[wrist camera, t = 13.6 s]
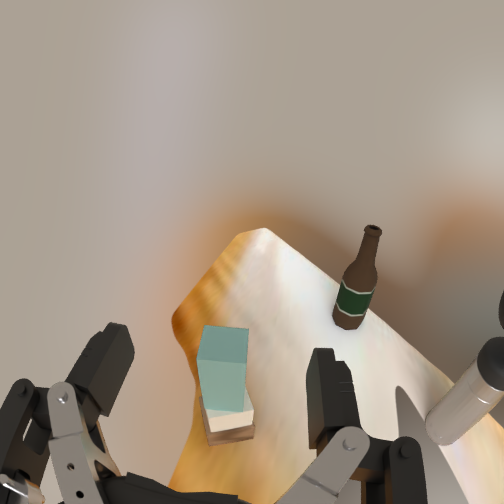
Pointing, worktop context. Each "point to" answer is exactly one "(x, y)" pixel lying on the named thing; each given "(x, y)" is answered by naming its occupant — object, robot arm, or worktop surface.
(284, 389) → the worktop surface
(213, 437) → the walnut block
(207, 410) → the cream block
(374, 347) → the worktop surface
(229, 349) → the teal block
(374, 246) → the beer bottle
